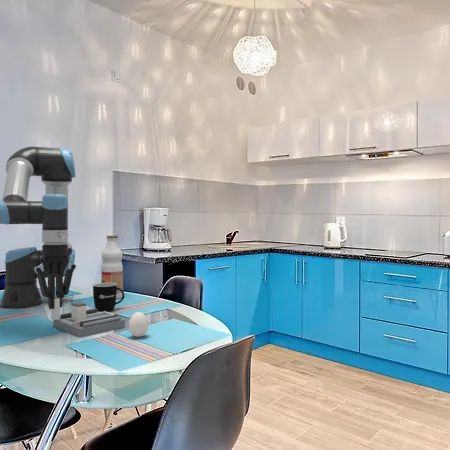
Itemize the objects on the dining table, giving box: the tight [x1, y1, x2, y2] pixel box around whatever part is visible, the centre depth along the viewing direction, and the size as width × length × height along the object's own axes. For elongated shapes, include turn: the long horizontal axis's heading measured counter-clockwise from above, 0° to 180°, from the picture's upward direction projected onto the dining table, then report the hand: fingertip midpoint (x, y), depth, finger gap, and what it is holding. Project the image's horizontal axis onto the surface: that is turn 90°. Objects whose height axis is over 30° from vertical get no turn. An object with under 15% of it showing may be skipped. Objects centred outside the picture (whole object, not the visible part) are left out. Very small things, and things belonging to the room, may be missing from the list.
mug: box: [92, 282, 125, 313], centre depth 167 cm, size 12×9×10 cm
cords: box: [60, 307, 122, 327], centre depth 142 cm, size 13×16×2 cm
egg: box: [128, 311, 150, 338], centre depth 131 cm, size 6×6×8 cm
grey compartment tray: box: [52, 311, 126, 338], centre depth 142 cm, size 18×16×3 cm
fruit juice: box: [100, 234, 124, 300], centre depth 190 cm, size 9×9×28 cm
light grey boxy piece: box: [71, 301, 87, 322], centre depth 139 cm, size 4×3×6 cm
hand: (55, 318), depth 133 cm, fingers closed
